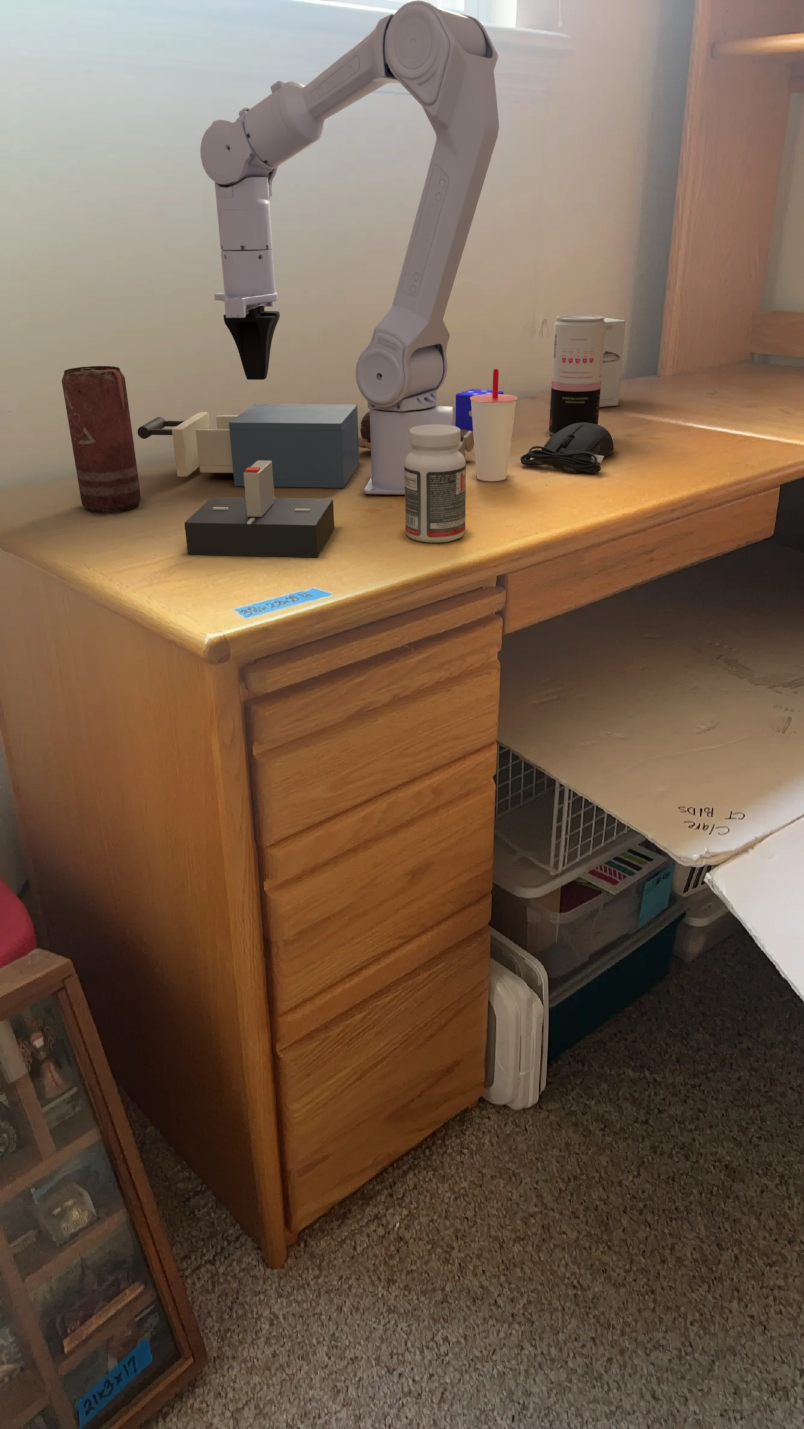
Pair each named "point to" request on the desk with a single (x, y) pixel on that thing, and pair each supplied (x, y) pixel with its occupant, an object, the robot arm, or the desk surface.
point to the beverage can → (576, 370)
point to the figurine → (365, 441)
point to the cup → (492, 432)
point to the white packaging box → (612, 361)
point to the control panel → (260, 528)
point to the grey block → (259, 488)
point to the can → (102, 438)
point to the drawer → (196, 442)
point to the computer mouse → (574, 448)
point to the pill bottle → (435, 484)
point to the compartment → (297, 443)
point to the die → (467, 407)
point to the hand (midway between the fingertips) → (256, 378)
